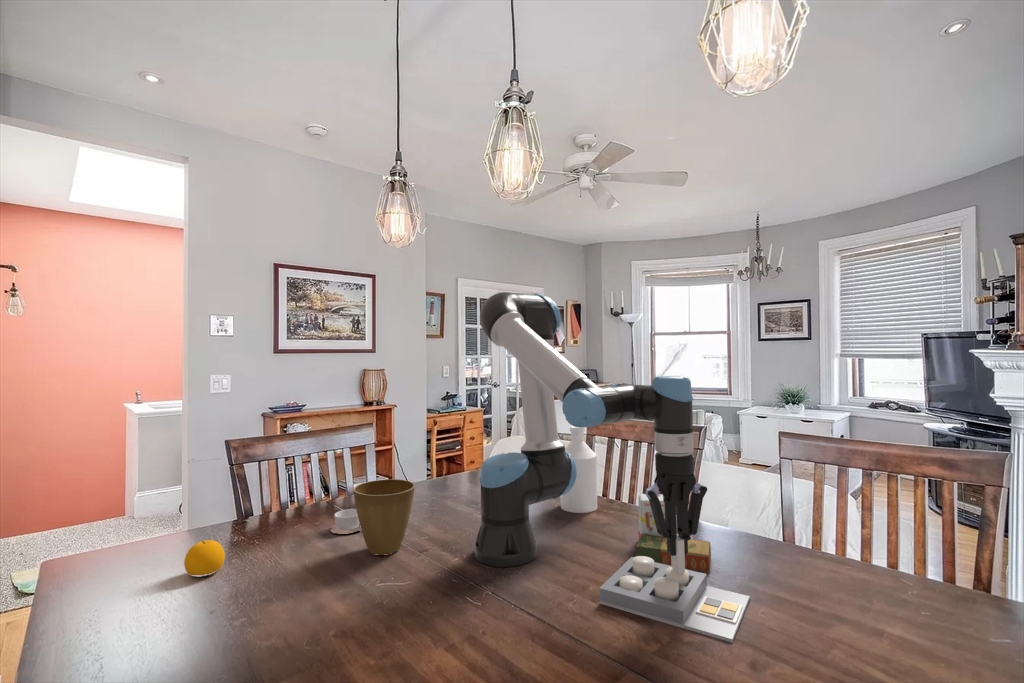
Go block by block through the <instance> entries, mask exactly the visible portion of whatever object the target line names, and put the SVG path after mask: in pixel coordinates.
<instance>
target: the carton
mask: <svg viewBox="0 0 1024 683" xmlns="http://www.w3.org/2000/svg"><path fill="white" fill-rule="evenodd" d="M711 550H712V548H711V542H710V541H707V540H700V539H692V538H691V539H690V540H688V553H687V554H685V569H687V570H691V571H697V572H698V571H699V572H705V573H710V572H711V571H710V570H711V561H712V560H711V559H712V551H711ZM637 556H646V557H649V558H652V559H653V560H654V562H656V563H661V564H665V565H669V566H671V555H670V554H669V553H668V551H667V538H664V537H663V536H656V535H647V534H641V537H640V539H639V538H638V542H637V543H636V545H635V557H637Z"/></svg>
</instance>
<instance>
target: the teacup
mask: <svg viewBox="0 0 1024 683" xmlns="http://www.w3.org/2000/svg"><path fill="white" fill-rule="evenodd" d="M333 516H334V522H335V526H336V525H337V527H338V528H339V529H341V530H349V529H354V528H357V527H358V526H359V524H360V523H359V519H358V515H357V510H356V508H348V509H342V510H339V511H337V512H335V513H334V514H333Z"/></svg>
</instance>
